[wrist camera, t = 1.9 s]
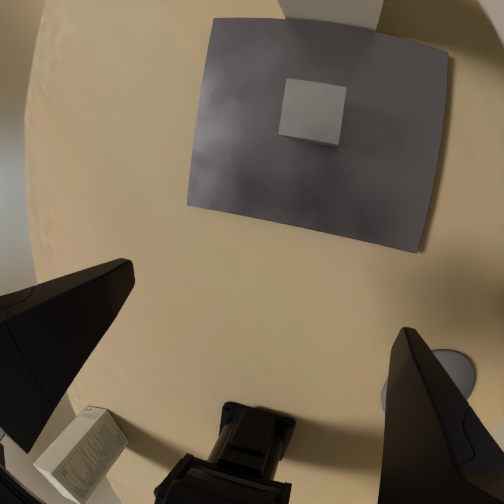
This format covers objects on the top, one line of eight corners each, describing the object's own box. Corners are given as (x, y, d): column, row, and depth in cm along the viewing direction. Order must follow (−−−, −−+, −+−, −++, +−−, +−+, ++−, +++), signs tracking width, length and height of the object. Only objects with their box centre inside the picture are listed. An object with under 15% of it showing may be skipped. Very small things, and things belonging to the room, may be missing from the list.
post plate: (414, 250, 18) (433, 277, 14) (190, 203, 21) (154, 216, 17) (445, 55, 14) (470, 31, 10) (217, 21, 17) (187, -6, 13)
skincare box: (86, 404, 33) (30, 461, 22) (108, 408, 32) (49, 473, 20) (109, 438, 34) (61, 495, 23) (132, 443, 33) (83, 507, 22)
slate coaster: (445, 426, 21) (446, 429, 20) (367, 417, 22) (367, 420, 22) (489, 355, 18) (490, 358, 18) (404, 341, 20) (404, 344, 20)
